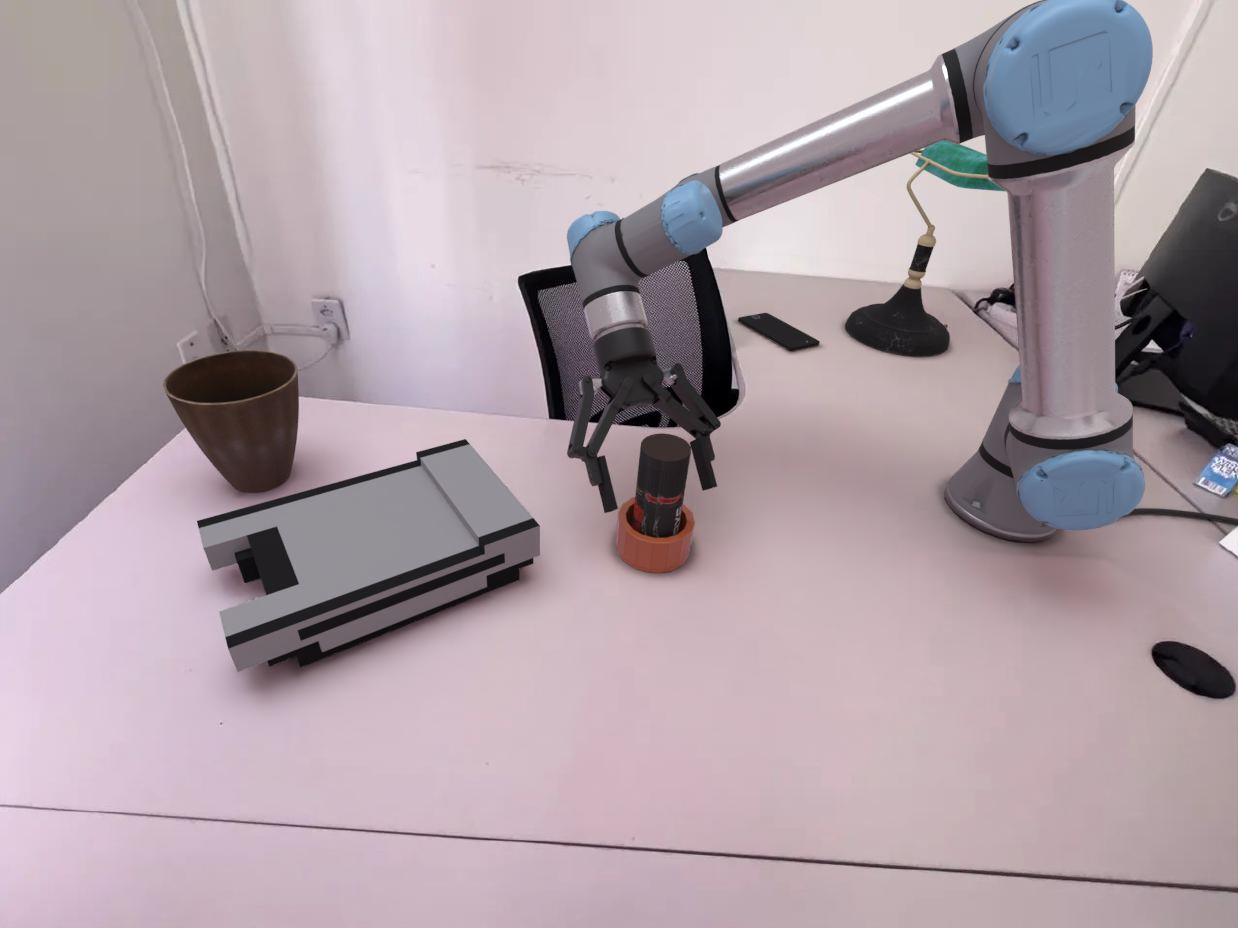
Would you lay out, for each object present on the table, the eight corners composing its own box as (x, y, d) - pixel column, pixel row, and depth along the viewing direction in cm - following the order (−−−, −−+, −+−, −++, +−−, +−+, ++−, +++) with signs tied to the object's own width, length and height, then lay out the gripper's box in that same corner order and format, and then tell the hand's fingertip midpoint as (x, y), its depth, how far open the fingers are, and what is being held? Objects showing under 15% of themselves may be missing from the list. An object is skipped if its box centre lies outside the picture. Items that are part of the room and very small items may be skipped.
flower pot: (249, 440, 98) (220, 342, 89) (340, 457, 96) (320, 359, 87) (175, 498, 86) (132, 392, 77) (277, 519, 84) (246, 412, 75)
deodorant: (672, 562, 82) (688, 465, 73) (626, 554, 83) (636, 456, 74) (678, 533, 87) (693, 438, 78) (634, 524, 87) (645, 430, 79)
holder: (696, 533, 88) (701, 504, 85) (679, 581, 80) (684, 551, 77) (628, 516, 90) (631, 487, 87) (605, 560, 82) (608, 530, 79)
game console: (214, 566, 77) (193, 512, 72) (469, 487, 93) (465, 438, 88) (247, 696, 63) (224, 639, 58) (539, 577, 79) (539, 525, 74)
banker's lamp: (968, 364, 140) (1052, 163, 117) (863, 357, 140) (926, 153, 117) (923, 317, 162) (985, 140, 139) (831, 310, 161) (879, 131, 139)
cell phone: (765, 315, 155) (766, 312, 154) (820, 345, 143) (821, 341, 142) (736, 321, 151) (737, 317, 150) (790, 352, 139) (791, 348, 138)
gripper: (693, 336, 90) (732, 484, 88) (518, 358, 81) (557, 524, 78) (719, 314, 83) (763, 474, 81) (532, 335, 74) (575, 517, 71)
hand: (662, 499), depth 80 cm, fingers open, 13 cm apart
